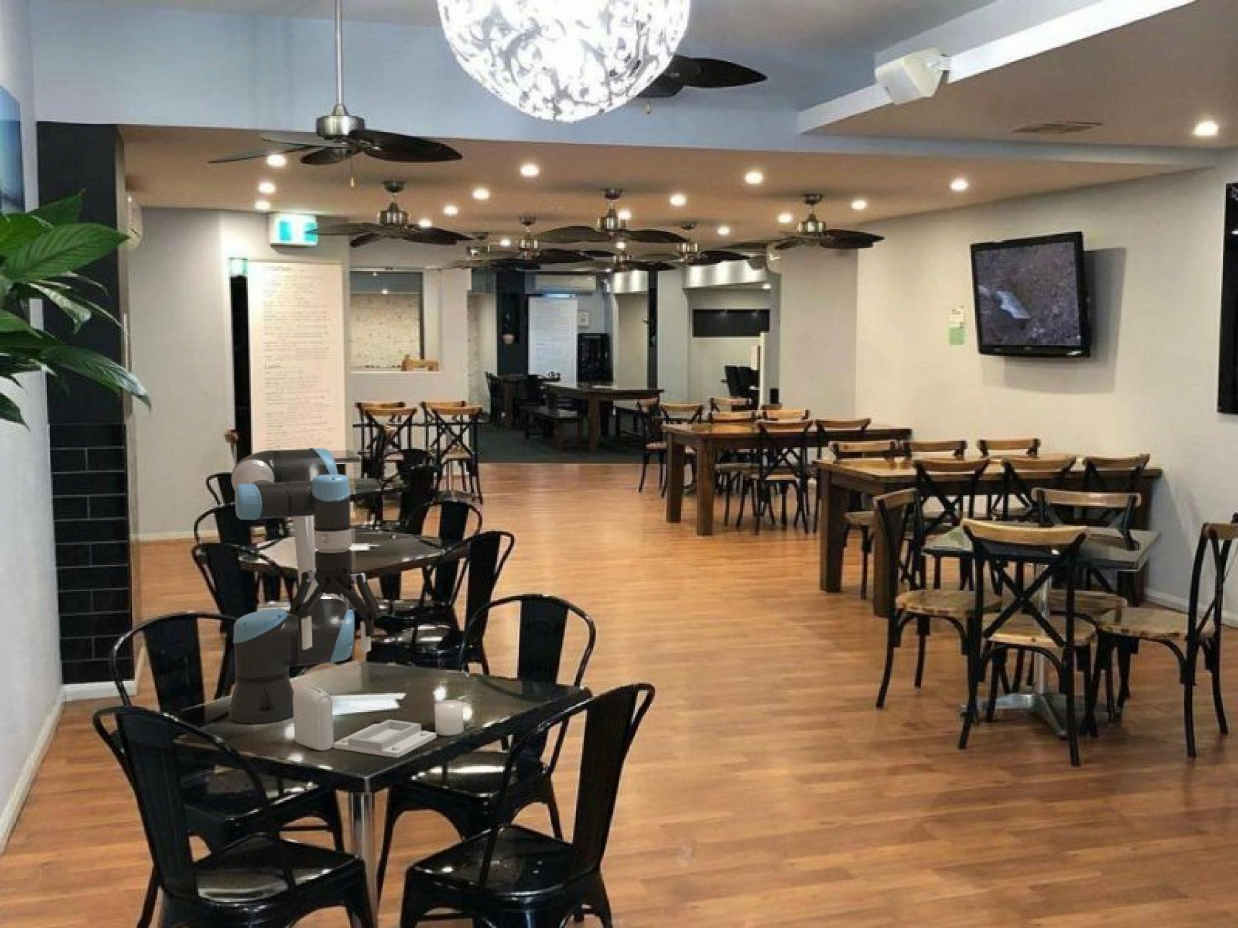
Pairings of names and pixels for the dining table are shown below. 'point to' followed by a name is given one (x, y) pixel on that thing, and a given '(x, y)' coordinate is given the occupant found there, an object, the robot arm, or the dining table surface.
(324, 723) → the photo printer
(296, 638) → the robot arm
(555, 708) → the dining table surface
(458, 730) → the white rounded cylinder
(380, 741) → the dock plate
